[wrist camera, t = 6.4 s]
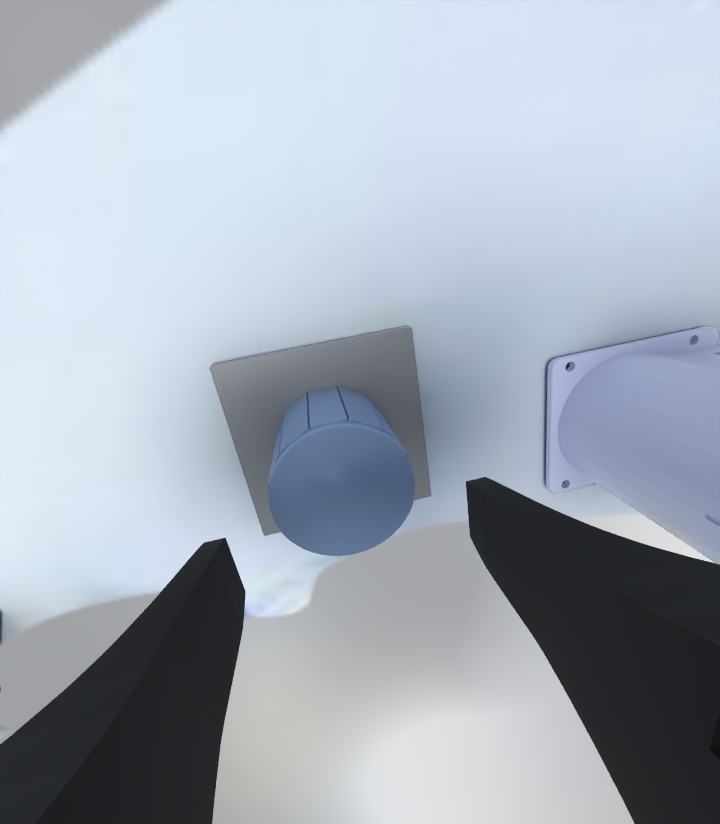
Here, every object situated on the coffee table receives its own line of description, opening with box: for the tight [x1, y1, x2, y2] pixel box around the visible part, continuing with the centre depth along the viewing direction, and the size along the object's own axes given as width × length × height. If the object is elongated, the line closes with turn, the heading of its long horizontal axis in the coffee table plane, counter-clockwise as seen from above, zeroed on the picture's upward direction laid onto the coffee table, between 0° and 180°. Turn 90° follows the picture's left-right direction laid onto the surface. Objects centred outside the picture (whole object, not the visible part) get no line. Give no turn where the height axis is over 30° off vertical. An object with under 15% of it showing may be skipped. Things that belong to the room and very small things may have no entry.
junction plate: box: [210, 326, 431, 536], centre depth 16 cm, size 9×9×4 cm
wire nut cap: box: [268, 386, 415, 556], centre depth 15 cm, size 5×5×5 cm
